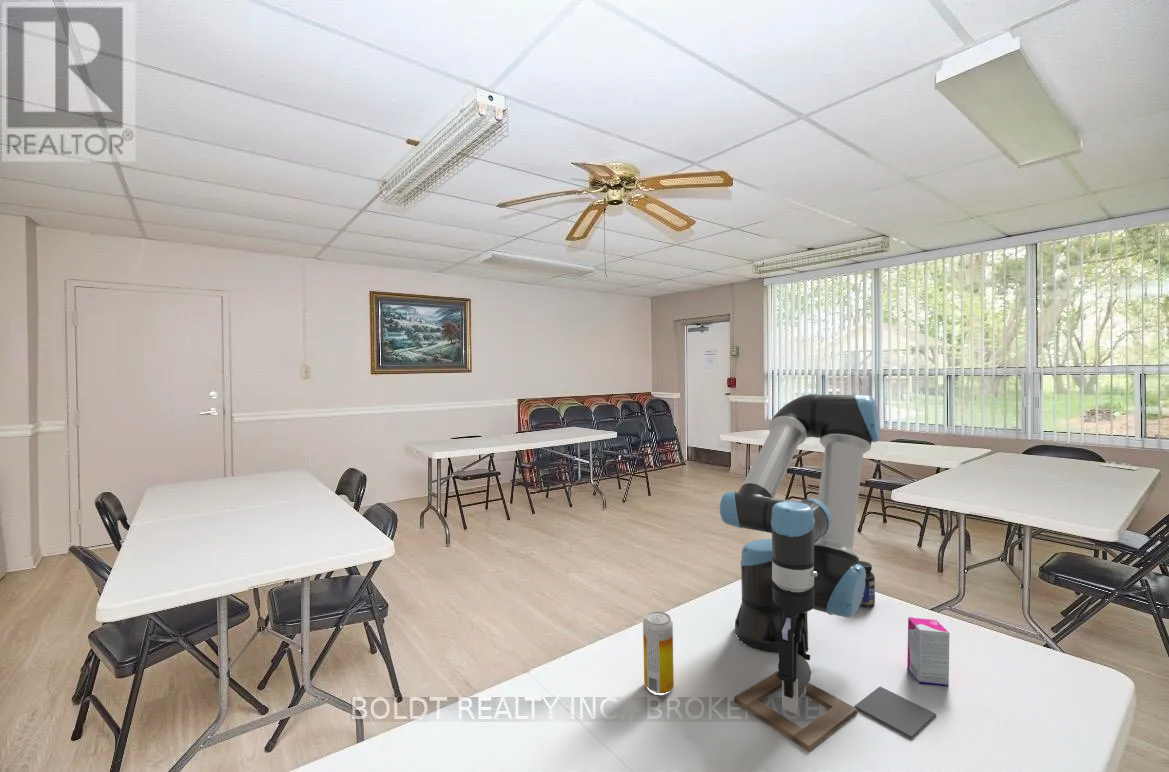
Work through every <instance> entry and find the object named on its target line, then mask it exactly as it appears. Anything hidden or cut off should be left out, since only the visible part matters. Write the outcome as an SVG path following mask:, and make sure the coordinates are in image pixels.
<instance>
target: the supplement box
mask: <svg viewBox="0 0 1169 772" xmlns="http://www.w3.org/2000/svg"><path fill="white" fill-rule="evenodd" d="M906 669H907V670H908V672H909V673H910V674H911V676H912V677H913V679H914V680H915V681H916V683H917V684H918V685H922V686H923V685H925V686H935V687H936V686H937V687H946V688H948V687H949V683H950V632H949V631H948V630H947V629H946V628H945V627H944V626H943V624H941V623H940V622H939V621H938V620H937V619H934V618H933V619H930V618H919V617H911V616H909V617H907V667H906Z"/></svg>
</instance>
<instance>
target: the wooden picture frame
mask: <svg viewBox="0 0 1169 772" xmlns="http://www.w3.org/2000/svg"><path fill="white" fill-rule="evenodd" d="M777 673H778V670H776V671H775V672H774V673H772V674H770V675H768V676H766V677H765V678H763V679H761V680H759V681H758V682H756V683H755V684H753V685H752V686H750V687H748V688H746V689H745V690H743V691H742V692H740V693H738V694H736V695H735V696H733V702H734V703H735V704H736V705H738V706H740V707H741V708H742V709H744V710H746V711H747V712H749V713H750V714H751V715H753V716H755V717H756V718H758V719H759V720H761V721H762V722H763V723H765V724H767V725H769V726H770V727H771V728H772V729H774V730H776V731H777V732H779V733H780V734H782V735H783V736H785V737H786V738H788V739H789V740H791V741H793V742H794V743H795V744H797V745H799V746H800V747H801V748H803V749H804V750H806V751H808V752H811V751H812V750H813V749H814V748H816V747H817V746H818V745H819V744H821V743H822V742H823V741H824V740H826V739H827V738H829V736H831V735H832V734H834V733H835V732H836V731H837V730H838V729H840V728H841V727H842V726H843V725H845V724H846V723H847V722H849V721H850V720H851V719H852V718H854V717H855V716H856V715H857V714H858V710H857V708H855V706H853V705H851V704H849V703H848V702H846V701H844V700H842V699H840V698H838V697H836V696H835V695H833V694H830V693H829V692H827V691H825V690H823V689H822V688H820V687H818V686H816V685H815V684H812V683H811V682H810V681H809V682H808V684H807V685H806V695H804V694H803V695H802V696H805V697H807V698H809V699H811V700H812V701H814V702H816V703H818V704H819V705H821V706H822V707H824V708H827V710H826V711H825V712H824V713H822V714H821V715H819V716H818V717H816V718H815V719H814V720H813V721H811V722H810V723H808V724H807V725H805V727H802V726H800V725H798V724H797V723H795V722H793V721H792V720H790V719H789V718H787V717H786V716H784V715H783V714H781V713H779V712H777V711H776V710H774V709H772V708H771V707H769V706H768V705H766V704H765V703H763V702H762V701H763V700H765V699H767V698H768V697H770V696H771V695H773V694H775V693H776V692H778V691H779V690H782V680H780V679H779V677H778V676H777Z"/></svg>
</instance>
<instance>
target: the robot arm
mask: <svg viewBox="0 0 1169 772" xmlns="http://www.w3.org/2000/svg"><path fill="white" fill-rule="evenodd" d="M878 410H879V409H878V405H877V402H876V401H875V399H874V398H873V397H872V396H870V395H861V394H856V393H853V394H817V393H811V394H805V395H802V396H799V397H796V398H795V399H792V400H791V401H790V402H788V403H786V404H785V405H784V406H782V407H781V408H780V409H779V410H778V411H777V412H776V413H775V414H774V416H773V418H772V419H771V421H770V423H769V426H768V431H769V434H768V435H767V437H766V439H765V441H764V443H763V444H762V447H761V448H760V450H759V452H758V454H757V456H756V458H755V460H754V461H753V464H752V466H751V467H750V470H749V471H748V473H747V475H746V477H745V479H744V481H743V483H742V484H741V487H740V489H738V492H736V491H727V492H725V493H724V494H723V495H722V497H721V500H720V502H719V503H720V504H719V515H720V518H721V521H722V522H723V523H724V524H726V525H730V526H733V527H737V528H739V529H746V530H747V529H749V530H752V531H758V532H764V533H768V534H771V539H770V538H768V539H767V538H766V539H765V538H764V539H758V540H757V539H756V540H753V541H750V542H748V543H746V544H745V545H744V546H743V547H742V549H741V560H740V569H741V570H740V571H741V572H740V573H741V576H740V577H741V578H740V579H741V603H740V607H739V609H738V612H737V614H736V618H735V621H734V633H736V635H737V637H738V638H739V639H738V638H737V637H736V638H737V639H738V640H739V641H740V642H741V641H742V642H743V643H742V642H741V643H742V644H744V645H745V644H746V645H745V646H747V647H749V648H752V649H754V650H756V651H760V652H764V653H772V654H778V662H779V672H778V673H777V676H778V677H779V679H780V680H782V688H781V697H782V698H781V704H782V705H781V707H782V708H781V709H782V710H785V711H787V712H789V713H792V714H795V715H798V714H799V707H798V678H797V677H796V671H797V654H799V655H801V656H802V657H803V658H804V659H805V660H806V661H810V660H811V655H810V654H808V653H807V652H808V651H809V650H810V649H809V632H808V631H809V629H808V628H809V627H808V626H809V625H808V623H809V622H808V612H810V611H812V610H815V611H819V612H823V613H826V614H827V615H830V616H832V615H833V616H838V617H842V618H850V617H853V616H854V615H856V613H857V611H858V610H859V607H861V606H860V603H861V600H862V597H863V593H864V589H865V579H866V571H865V568H864V567H863V566H861V565H860V564H859V561H860V557H859V556H858V554H857V553H856V551H854V549H853V545H854V540H855V539H854V538H855V528H856V522H857V521H856V520H857V512H858V504H859V503H858V502H859V494H860V486H861V485H860V483H861V477H862V467H863V459H864V454H866V453H868V452H869V451H870V450H871V448H872V443H876V442H879V441H880V438H881V426H880V417H879V411H878ZM808 438H816V439H817V438H818V439H819V443H820V445H822V447H823V448H824V454H823V460H822V467H821V468H822V469H821V474H820V482H819V489H818V495H817V499H814V498H805V499H802V500H801V501H797V500H792V499H791V500H790V499H784V498H783V499H782V498H775V496H776V494H777V492H778V490H779V488H780V486H781V483H782V481H783V479H784V477H785V475H786V472H787V471H788V468H789V466H790V464H791V462H792V460H793V457H794V455H795V453H796V451H797V450H798V446H800V445H802V444H804V442H805V441H806V439H808ZM736 635H735V636H736ZM803 694H804V695H803V696H805V695H806V686H805V688H804V692H803Z"/></svg>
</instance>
